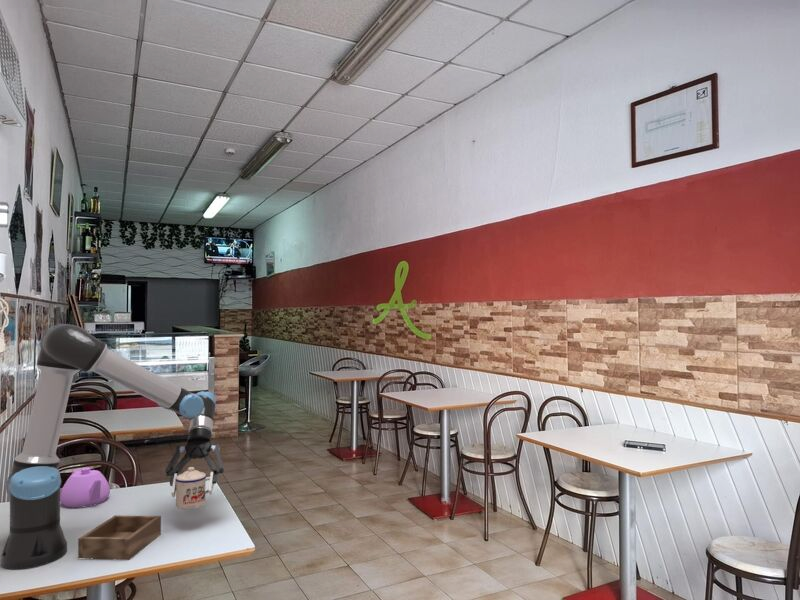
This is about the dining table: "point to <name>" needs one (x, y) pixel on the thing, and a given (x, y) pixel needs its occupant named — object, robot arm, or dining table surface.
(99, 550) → the walnut crate
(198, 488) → the teacup with lid
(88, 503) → the teapot
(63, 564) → the dining table surface
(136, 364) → the robot arm
